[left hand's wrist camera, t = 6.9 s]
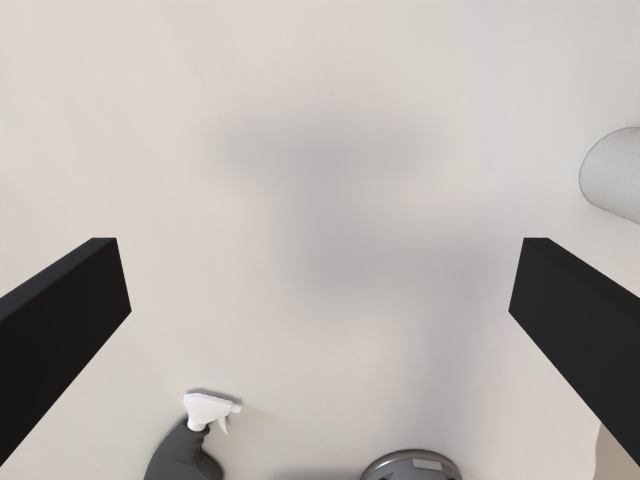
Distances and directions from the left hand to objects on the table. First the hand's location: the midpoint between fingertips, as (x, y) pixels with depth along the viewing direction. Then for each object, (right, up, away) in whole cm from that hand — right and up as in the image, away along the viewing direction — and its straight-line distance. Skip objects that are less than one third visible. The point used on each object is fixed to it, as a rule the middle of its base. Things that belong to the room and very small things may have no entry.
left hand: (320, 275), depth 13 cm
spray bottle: (-18, -29, +42) cm, 54 cm away
